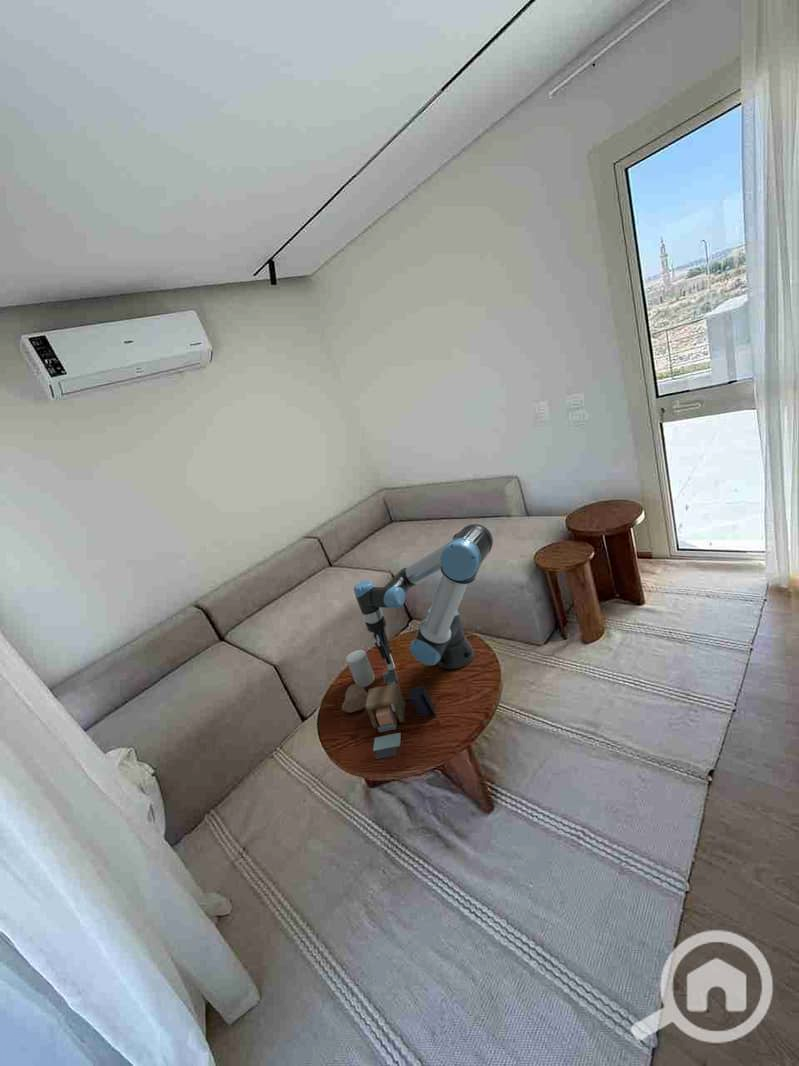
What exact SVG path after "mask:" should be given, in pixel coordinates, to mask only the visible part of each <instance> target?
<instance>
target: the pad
mask: <svg viewBox="0 0 799 1066" xmlns="http://www.w3.org/2000/svg"><path fill="white" fill-rule="evenodd" d="M401 736H402V733H401V732H396V733H392V734H387V735H386V734H385V735H382V736H377V737H374V741H373V748H372V750H373V751H372V752H376V751H380V750H385V749H390V748H395V747H397V748H398V747H401Z"/></svg>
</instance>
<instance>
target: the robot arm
mask: <svg viewBox="0 0 799 1066" xmlns="http://www.w3.org/2000/svg"><path fill="white" fill-rule="evenodd" d="M493 545H494V538H493V534H492V533H491V531H490V530H489V529H488V528H487V527H485V525H482V524H479V523H472V524H468V525H466V526H464V527H463V528H462V529H460V531H458V532H457V533H455V534H454V535H453V536H452V539H451V540H449V541H447V542H446V543H444V544H443V545H441V546H439V547H438V548H436V549H434V550H433V551H431V552H430V553H428V554H427V555H425V556H423V557H422V558H420V559H418V560H417V561H415V562H414V563H412V564H410V565H408V566H404V567H403V568H402V569H400V570H399V571H398V572H397V574H396V575H394V576H393V578H392V579H390V580H389V582H388V583H387V584H386V585H384V586H374V584H373V582H372V581H371V580H367V579H366V580H363V581H359V582H358V583H356V584H355V585H354V587H353V591H354V595H355V599H356V602H357V604H358V607H359V609H360V611H361V614H360V616H361V617H363V620H364V622H365V626H366V629H367V630H368V632H370V633H373V637H374V640H375V641H376V642H374V644H375V646H376V647H377V650H378V652H379V654H380V656H381V659H382V660H384V661H385V665H386V667H387V671H390V670H394V669H395V670H396V666H395V663H394V660H393V656H392V655H391V653H392V652H393V650H392V649H391V646H390V642H389V639H388V636H387V632H386V626H387V622H386V619H385V616H384V613H383V610H382V608H386V609H388V608H389V609H395V608H397V609H399V608H401V607H403V606H404V603H405V601H406V593H407V592H408V591H410V589H411V588H413V587H415V586H416V585H417V586H418V584H419V583H422V582H423V581H426V580H427V579H429V578H431V577H432V576H435V575H436V574H438V573H441V574H442V576H441V579H440V581H439V583H438V587H437V589H436V592H435V595H434V597H433V601H432V603H431V606H430V608H428V609H427V611H426V614H427V615H426V618H424V619H423V620H421V622H420V624H419V626H418V629H417V631H416V632H417V633H416V634H415V636H414V638H413V639H411V642H410V644H409V652H410V653H411V655H412V657H413V658H414V660H416V661H417V662H418V663H421V664H423V665H426V666H435V665H437V664H438V666H439V667H440V668H442V669H445V670H456V669H461V668H463V667H466V666H467V665H468V664H470V663H471V662H472V661H473V659H474V657H475V651H474V648H473V646H472V644H471V643H470V641H469V640H468V639H467V637H466V635H465V632H464V627H463V625H462V621H461V618H460V613H459V611H458V609H459V606H460V604H461V601H462V599H463V597H464V595H465V591H466V589H467V587H468V585H470V584H473V582H475V580H476V578H477V575H478V573H479V570H480V568H481V566H482V564H483V562H484V561H485V559H486V558H487V557H488V555H489V554H490V552H491V551H492V548H493Z"/></svg>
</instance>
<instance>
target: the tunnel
mask: <svg viewBox="0 0 799 1066" xmlns="http://www.w3.org/2000/svg"><path fill="white" fill-rule="evenodd" d="M367 693H368V695H367V701H366V708H365V709H366V712H367V715H368V717H369V720H370V722H371V725H372V727H373V728H378V727H379V722H378V720H377V717H376V713H377V707H381V706H386V705H391V704H394V707H395V710H396V713H397V719H398V721H399V723H403V722H405V713H406V712H405V710H406V703H405V699H404V697H403V694H402V691H401V688H400V685H399V683H398V682H395V684H390V685H388V684H386V685H381V686H376V687H373V688H369V689H368V690H367Z"/></svg>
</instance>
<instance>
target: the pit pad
mask: <svg viewBox="0 0 799 1066" xmlns="http://www.w3.org/2000/svg"><path fill="white" fill-rule="evenodd" d="M396 755H398V747H393V748H388V749H383V750H378V751H375V758H374V760H375V759H377V760H382V759H381V758H383V759H387V758H386V757H388V758H392V757H391V756H393V757H396Z"/></svg>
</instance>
